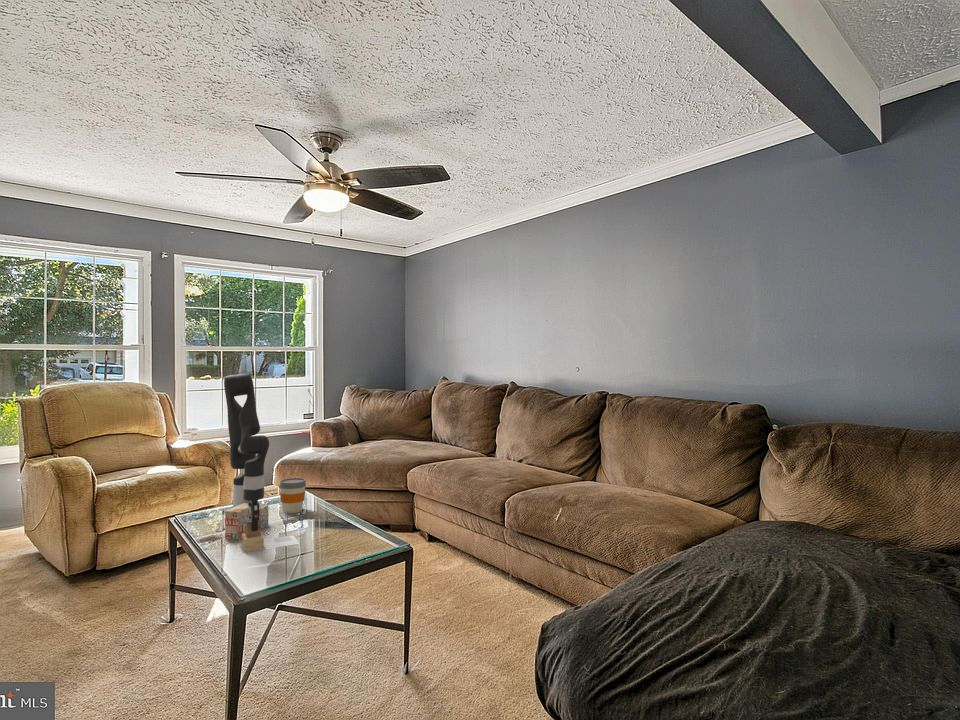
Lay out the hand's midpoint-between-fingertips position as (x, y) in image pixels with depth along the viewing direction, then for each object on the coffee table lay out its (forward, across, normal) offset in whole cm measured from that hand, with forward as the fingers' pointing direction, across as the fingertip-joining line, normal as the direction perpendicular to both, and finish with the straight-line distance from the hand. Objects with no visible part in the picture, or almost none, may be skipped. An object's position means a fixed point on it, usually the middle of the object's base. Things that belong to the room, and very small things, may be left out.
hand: (253, 528), depth 200 cm
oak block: (+8, 0, 0) cm, 8 cm away
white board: (+8, -2, +6) cm, 10 cm away
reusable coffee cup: (+8, -49, +24) cm, 55 cm away
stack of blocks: (+9, -23, +1) cm, 25 cm away
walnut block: (+3, 0, 0) cm, 3 cm away
